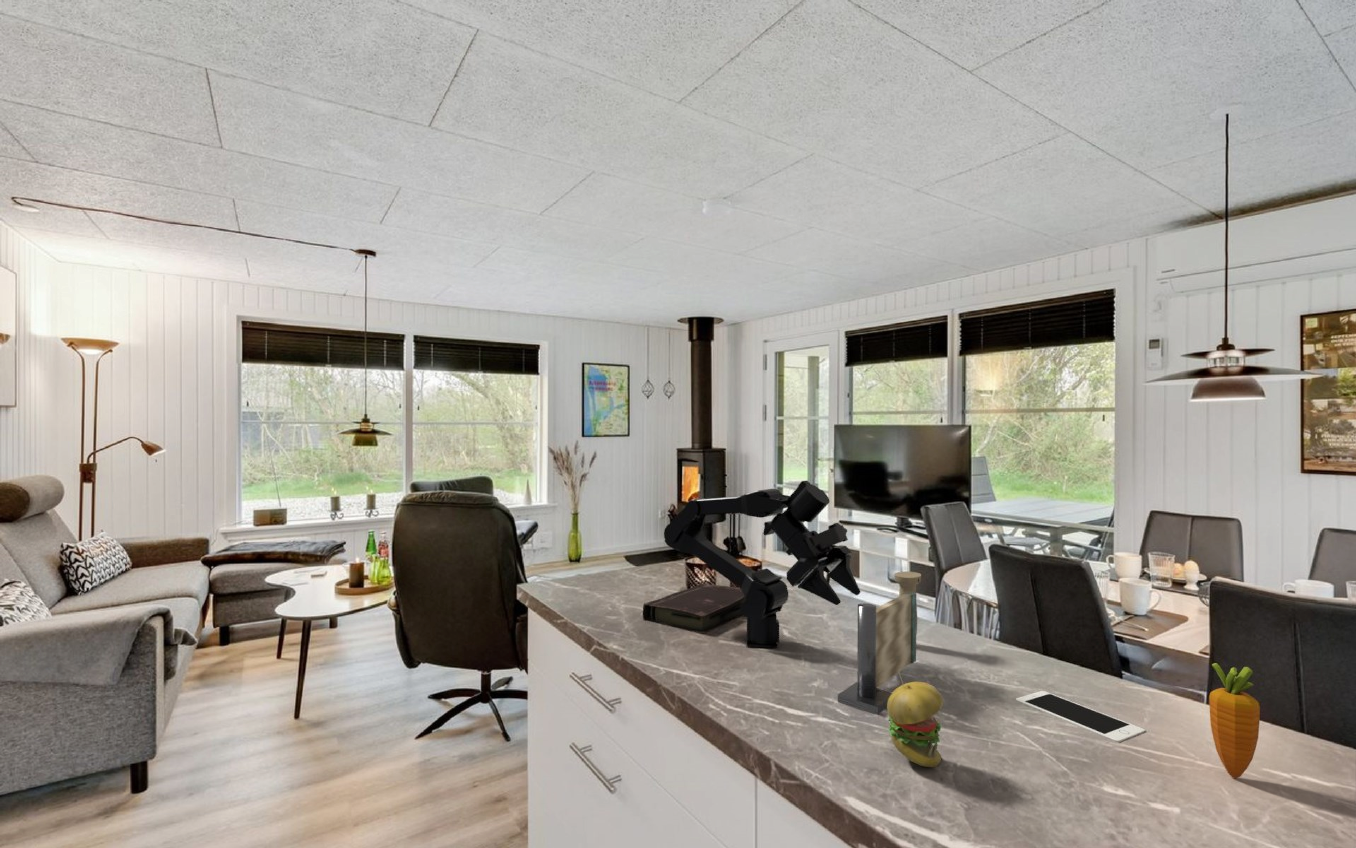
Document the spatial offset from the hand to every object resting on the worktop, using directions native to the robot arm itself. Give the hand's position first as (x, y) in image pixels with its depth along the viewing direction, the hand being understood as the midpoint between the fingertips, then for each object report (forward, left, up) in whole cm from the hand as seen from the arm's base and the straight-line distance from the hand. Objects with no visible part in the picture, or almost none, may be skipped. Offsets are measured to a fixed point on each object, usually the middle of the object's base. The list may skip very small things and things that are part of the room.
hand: (849, 598), depth 120 cm
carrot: (+44, -33, -13) cm, 57 cm away
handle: (+14, +14, -13) cm, 24 cm away
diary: (-31, +30, -14) cm, 45 cm away
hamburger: (+3, -34, -13) cm, 37 cm away
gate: (+7, -7, -11) cm, 15 cm away
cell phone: (+33, -16, -14) cm, 40 cm away
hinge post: (0, -16, -13) cm, 20 cm away
